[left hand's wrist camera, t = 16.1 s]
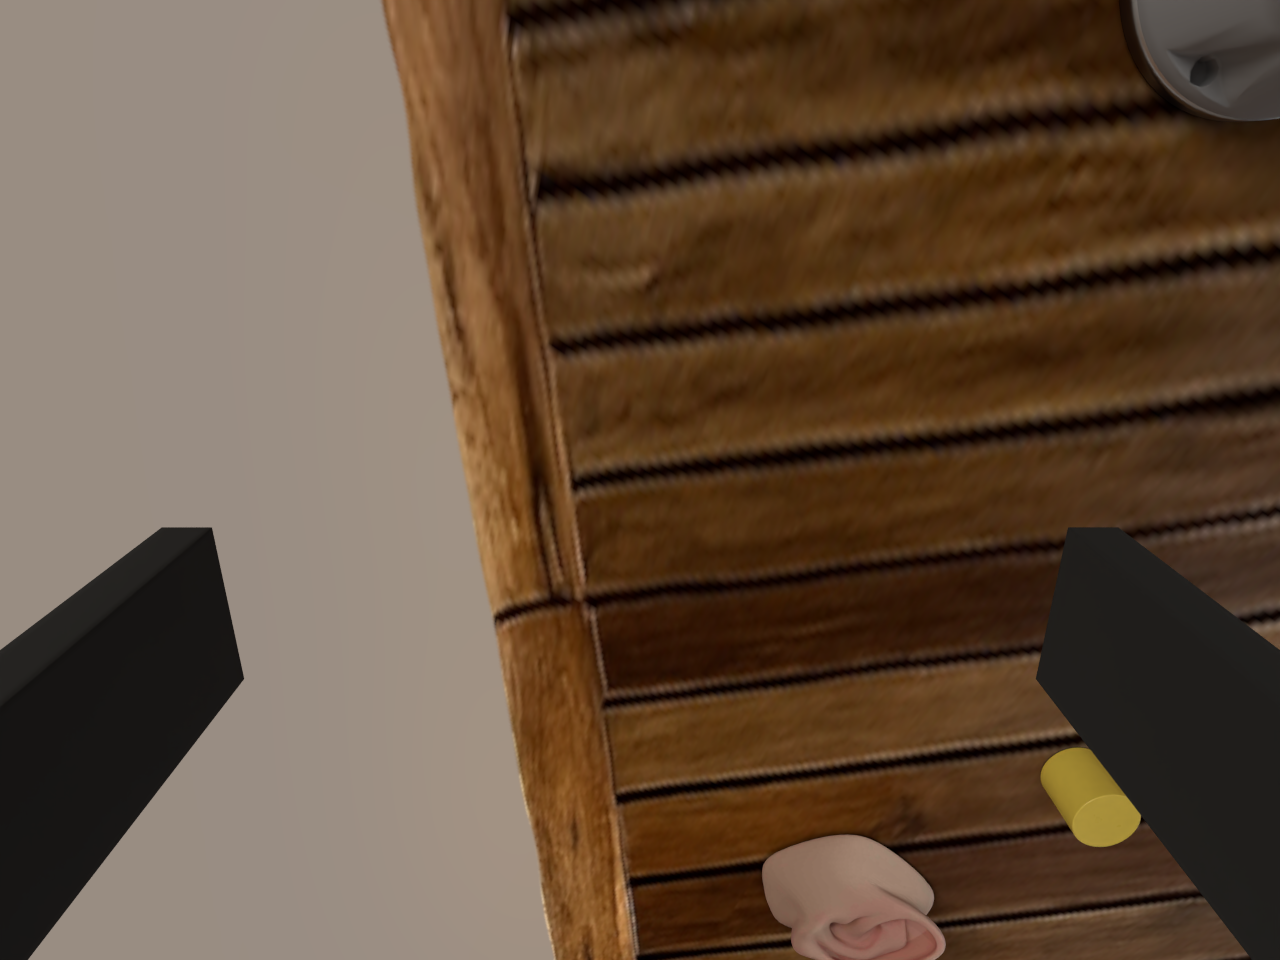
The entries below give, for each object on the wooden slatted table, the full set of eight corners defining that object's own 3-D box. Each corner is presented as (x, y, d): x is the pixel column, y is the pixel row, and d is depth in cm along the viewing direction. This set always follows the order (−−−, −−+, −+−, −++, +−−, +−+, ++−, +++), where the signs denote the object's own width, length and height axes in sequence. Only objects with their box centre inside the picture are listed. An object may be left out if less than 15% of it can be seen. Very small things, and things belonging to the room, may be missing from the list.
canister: (1051, 744, 58) (1085, 791, 54) (1112, 750, 59) (1151, 798, 54) (1032, 793, 60) (1063, 843, 56) (1091, 799, 60) (1127, 850, 56)
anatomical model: (740, 918, 59) (875, 845, 56) (734, 874, 63) (860, 803, 60) (838, 1017, 63) (968, 953, 60) (827, 970, 66) (949, 907, 64)
